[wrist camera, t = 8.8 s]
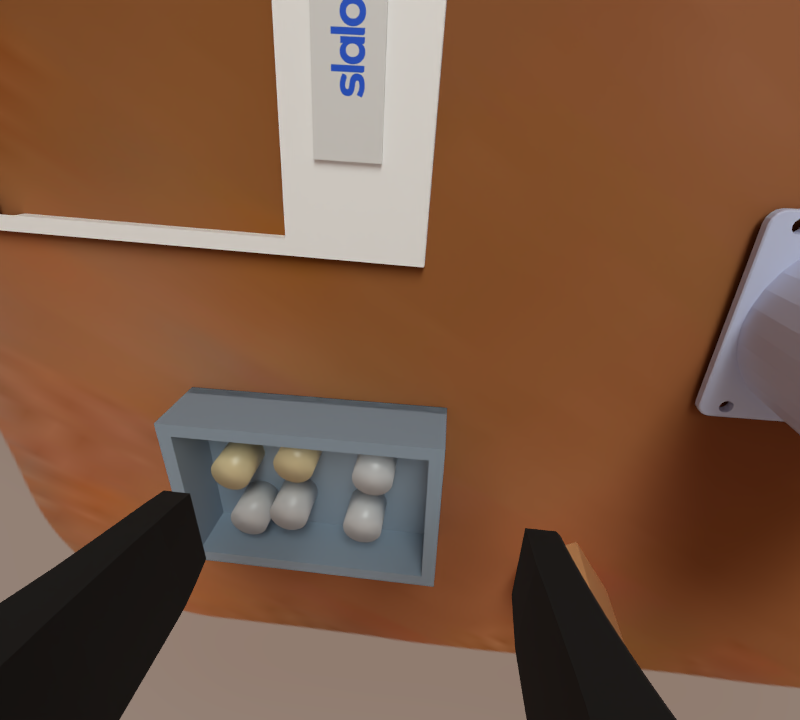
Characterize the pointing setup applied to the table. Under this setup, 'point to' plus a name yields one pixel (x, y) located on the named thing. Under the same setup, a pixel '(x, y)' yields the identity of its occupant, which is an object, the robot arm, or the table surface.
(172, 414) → the tub
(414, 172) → the photo frame
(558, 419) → the table surface
